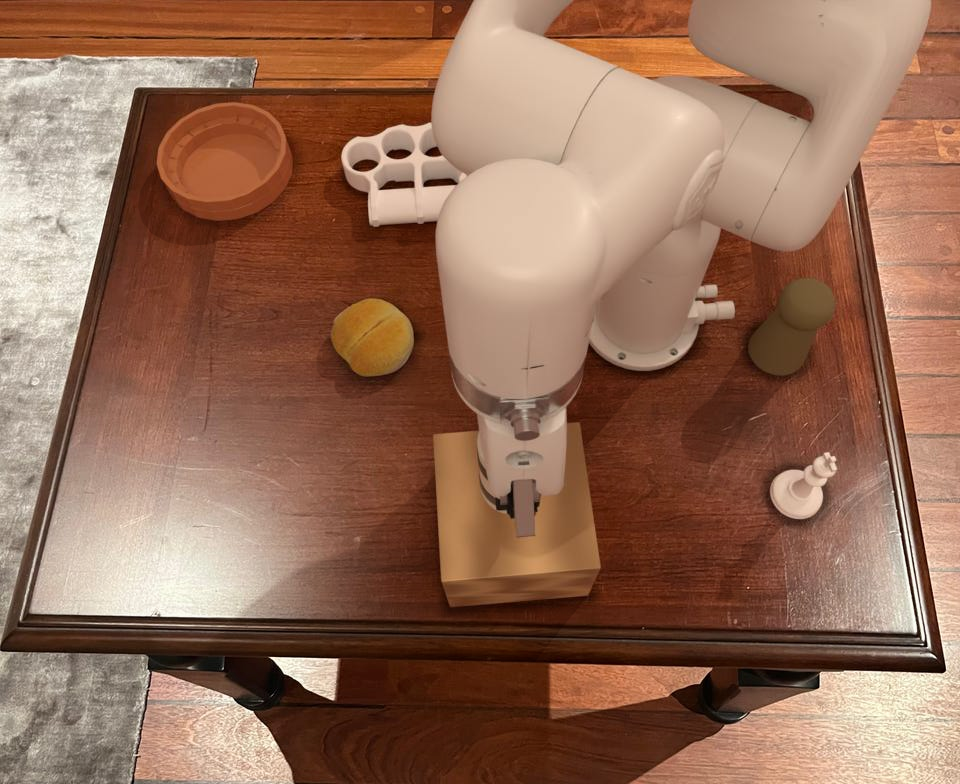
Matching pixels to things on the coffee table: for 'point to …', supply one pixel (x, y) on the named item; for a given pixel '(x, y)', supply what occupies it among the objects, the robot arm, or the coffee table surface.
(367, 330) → the bread roll
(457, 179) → the knuckle duster
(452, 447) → the block
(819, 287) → the olive pawn figure
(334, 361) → the coffee table surface
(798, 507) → the chess piece
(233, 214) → the terracotta dish
